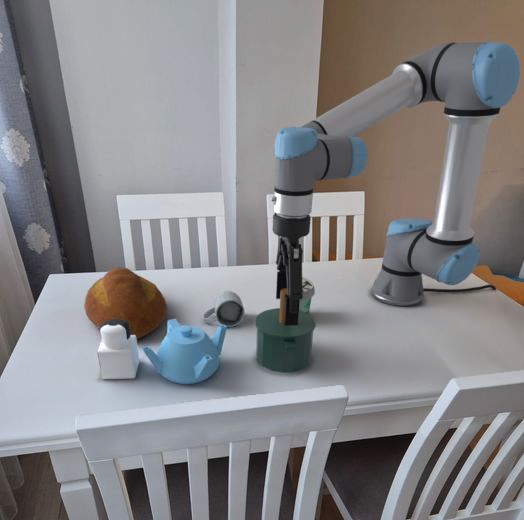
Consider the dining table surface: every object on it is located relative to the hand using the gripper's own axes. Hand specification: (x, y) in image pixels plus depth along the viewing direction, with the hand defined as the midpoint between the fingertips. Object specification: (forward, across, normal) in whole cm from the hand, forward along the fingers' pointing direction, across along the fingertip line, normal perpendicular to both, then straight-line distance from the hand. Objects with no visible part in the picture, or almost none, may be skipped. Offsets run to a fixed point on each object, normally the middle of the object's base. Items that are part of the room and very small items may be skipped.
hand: (286, 310), depth 105 cm
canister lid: (+3, 0, 0) cm, 3 cm away
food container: (+13, -20, +8) cm, 25 cm away
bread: (+13, -25, -39) cm, 48 cm away
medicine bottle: (+13, +2, -37) cm, 39 cm away
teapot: (+13, +3, -22) cm, 26 cm away
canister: (+13, 0, 0) cm, 13 cm away
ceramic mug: (+13, -20, -13) cm, 27 cm away
